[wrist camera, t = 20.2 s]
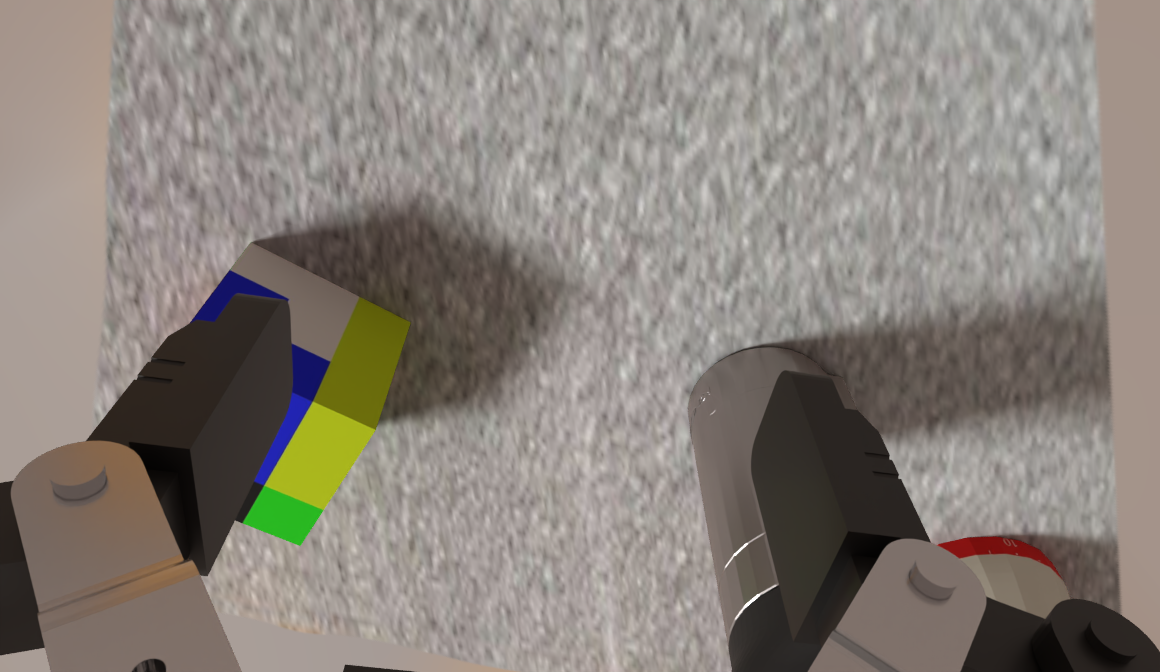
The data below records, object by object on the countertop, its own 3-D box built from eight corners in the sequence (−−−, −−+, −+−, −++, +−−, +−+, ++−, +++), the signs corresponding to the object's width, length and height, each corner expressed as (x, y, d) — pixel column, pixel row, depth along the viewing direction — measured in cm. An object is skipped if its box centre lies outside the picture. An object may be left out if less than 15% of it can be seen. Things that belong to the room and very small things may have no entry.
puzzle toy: (251, 241, 45) (176, 340, 37) (411, 321, 48) (375, 429, 40) (195, 362, 50) (118, 474, 42) (344, 429, 53) (300, 545, 45)
